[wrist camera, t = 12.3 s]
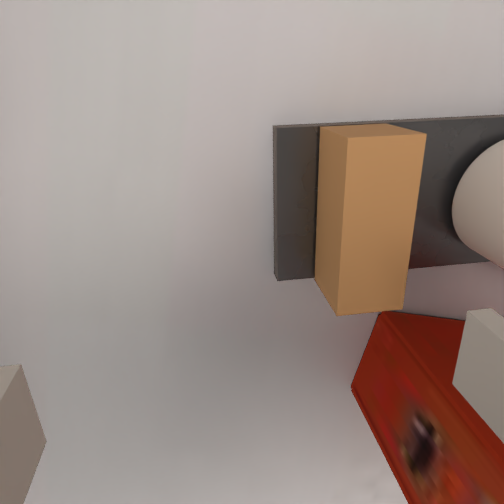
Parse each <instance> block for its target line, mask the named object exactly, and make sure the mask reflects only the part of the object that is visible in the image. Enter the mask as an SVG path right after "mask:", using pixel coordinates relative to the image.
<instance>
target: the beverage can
mask: <svg viewBox="0 0 504 504" xmlns="http://www.w3.org/2000/svg"><path fill="white" fill-rule="evenodd" d="M452 220H453V225H454V228H455V231H456V233H457V235H458V237H459V238H460V240H461V241H462V242H463V243H464V244H465V245H466V246H468V247H469V248H470V249H472V250H474V251H475V252H477V253H478V254H480V255H482V256H483V257H485V258H486V259H488V260H490V261H491V262H493V263H494V264H496V265H498V266H499V267H501V268H503V269H504V140H502V141H500V142H498V143H496V144H494V145H492V146H491V147H489V148H488V149H487V150H485V151H484V152H483V153H482V154H480V155H479V156H478V157H477V158H476V159H475V160H474V161H473V162H472V164H471V165H470V166H469V167H468V169H467V170H466V171H465V173H464V174H463V176H462V178H461V180H460V182H459V184H458V186H457V188H456V191H455V194H454V198H453V204H452Z"/></svg>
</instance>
